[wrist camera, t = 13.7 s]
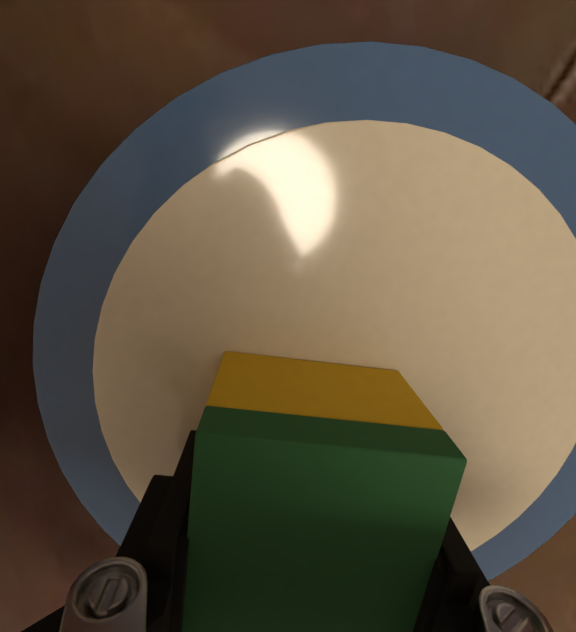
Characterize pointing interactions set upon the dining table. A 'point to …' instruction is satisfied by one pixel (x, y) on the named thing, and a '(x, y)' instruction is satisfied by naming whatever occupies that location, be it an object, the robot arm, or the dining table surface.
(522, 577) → the dining table surface
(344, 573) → the sponge
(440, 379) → the plate
